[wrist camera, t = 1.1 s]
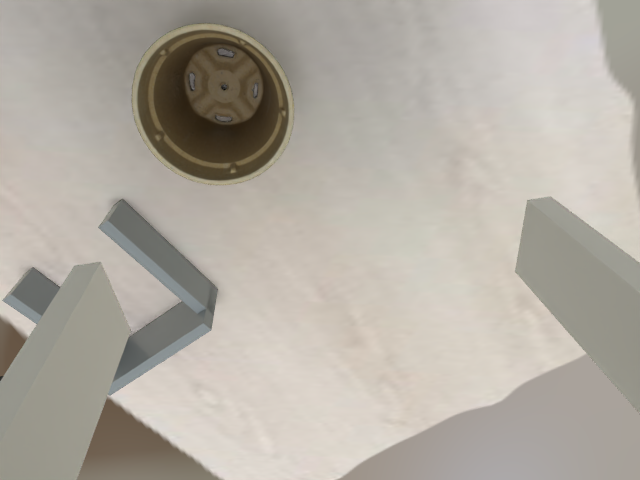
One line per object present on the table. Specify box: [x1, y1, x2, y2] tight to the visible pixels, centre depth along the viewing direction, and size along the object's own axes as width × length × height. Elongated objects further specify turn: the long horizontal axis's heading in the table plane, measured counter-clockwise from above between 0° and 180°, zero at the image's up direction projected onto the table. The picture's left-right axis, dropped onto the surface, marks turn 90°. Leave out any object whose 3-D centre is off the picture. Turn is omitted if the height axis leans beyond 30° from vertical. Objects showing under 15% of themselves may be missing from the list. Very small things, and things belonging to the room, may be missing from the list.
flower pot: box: [132, 23, 294, 185], centre depth 29 cm, size 9×9×9 cm
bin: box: [2, 199, 218, 395], centre depth 38 cm, size 12×12×6 cm
